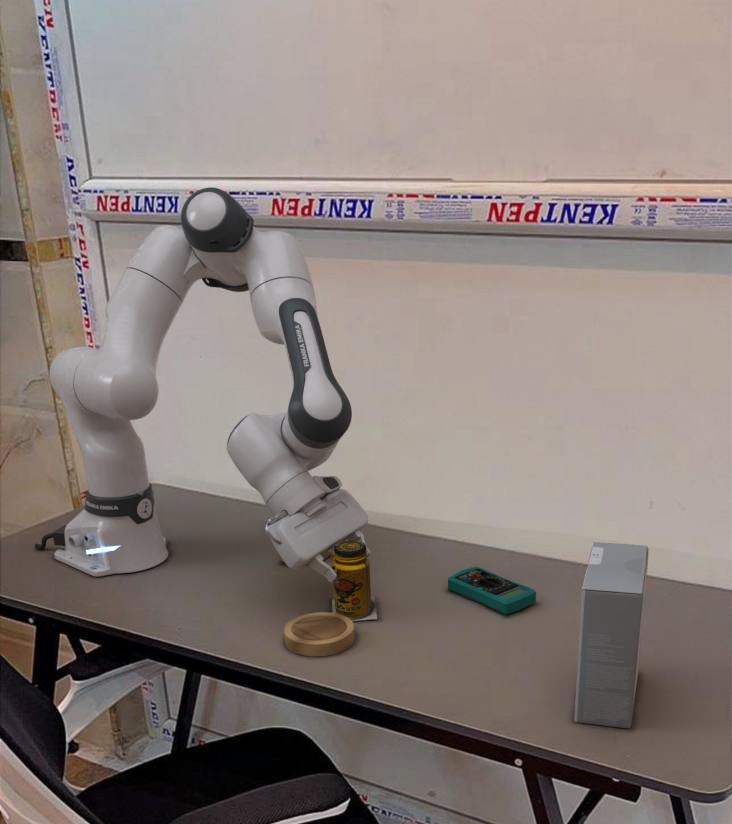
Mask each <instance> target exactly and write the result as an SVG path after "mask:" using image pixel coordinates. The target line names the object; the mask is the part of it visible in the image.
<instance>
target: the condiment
mask: <svg viewBox="0 0 732 824" xmlns="http://www.w3.org/2000/svg"><path fill="white" fill-rule="evenodd" d="M365 544H366V543H365ZM365 544H364V543H363V542H360V541H354V540H348V539H347V540H345V541H343V542H340V543H338V544H336V545H335V547H334V548H333V553H334V554H333V558H334V559H333V561H332V564H331V567H333V566H335V567H336V568H337V570H338V571H339V572H340V576H339V577H337V578H336V579H335V580H334V581H332V582H333V583H332V584H333V594H334V595H333V597H334V599H331V611H332V612H331V613H336V614H340V615H343V616H346V617H348V618H349V619H350V620H351V621H352V622H356V621H357V622H360V621H367V620H378V615H377V605H376V597H375V596H372V589H371V564H370V560H369V558H367V553H366V549H367V548H368V547H367V548H366V546H367V544H366V545H365Z"/></svg>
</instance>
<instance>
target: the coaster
mask: <svg viewBox="0 0 732 824" xmlns="http://www.w3.org/2000/svg"><path fill="white" fill-rule="evenodd" d="M283 637H284V638H283V639H284V645H285V647H286V648H287V649H288V650H289V651H290V652H291V653H294V654H297V655H300V656H304V657H314V658H317V657H329V656H333V655H337V654H339V653H342V652H344V651H347V650H348V649H350V648H351V646H353V644H354V642H355V640H356V635H355V624H354V621H351V620H350V619H349V618H348V617H346V616H343V615H340V614H336V613H332V612H327V611H326V612H325V611H320V612H310V613H305V614H301V615H298V616H296V617H294V618H292V619H291V620H289V621H288V622H287V623H286V624H285V625H284V628H283Z"/></svg>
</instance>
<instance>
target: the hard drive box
mask: <svg viewBox="0 0 732 824" xmlns="http://www.w3.org/2000/svg"><path fill="white" fill-rule="evenodd" d="M649 552H650V551H649V547H648V546H647V545H645V544H644V545H642V544H641V545H640V544H627V543H614V542H600V541H599V542H597V541H596V542H595V541H594V542H592V546H591V549H590V552H589V558H588V563H587V568H586V571H585V575H584V578H583V583H582V587H581V603H580V621H579V637H578V638H579V639H578V653H577V668H576V669H577V670H576V686H575V687H576V688H575V701H574V702H575V703H574V722H575V723H579V724H589V725H597V726H605V727H613V728H621V729H631V728H632V722H633V714H634V713H633V712H634V705H635V698H636V691H637V685H638V684H637V683H638V676H639V670H640V660H641V658H640V657H641V648H642V647H641V645H642V635H643V626H644V613H645V603H646V601H645V600H646V588H647V577H648V565H649Z"/></svg>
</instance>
